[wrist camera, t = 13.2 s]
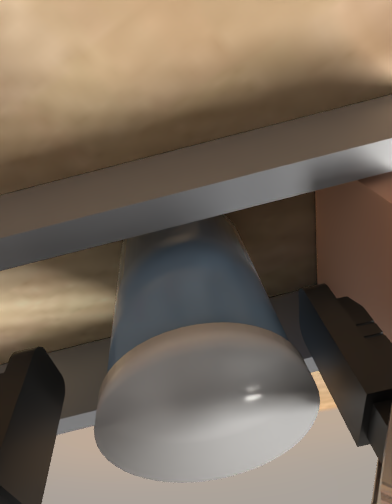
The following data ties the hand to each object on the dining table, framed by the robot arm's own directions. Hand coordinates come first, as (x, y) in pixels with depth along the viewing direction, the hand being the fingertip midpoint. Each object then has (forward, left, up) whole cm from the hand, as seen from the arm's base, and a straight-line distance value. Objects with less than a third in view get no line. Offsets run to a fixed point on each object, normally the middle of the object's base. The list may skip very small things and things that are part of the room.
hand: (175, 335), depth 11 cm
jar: (+1, 0, -5) cm, 5 cm away
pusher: (+1, +7, -5) cm, 9 cm away
